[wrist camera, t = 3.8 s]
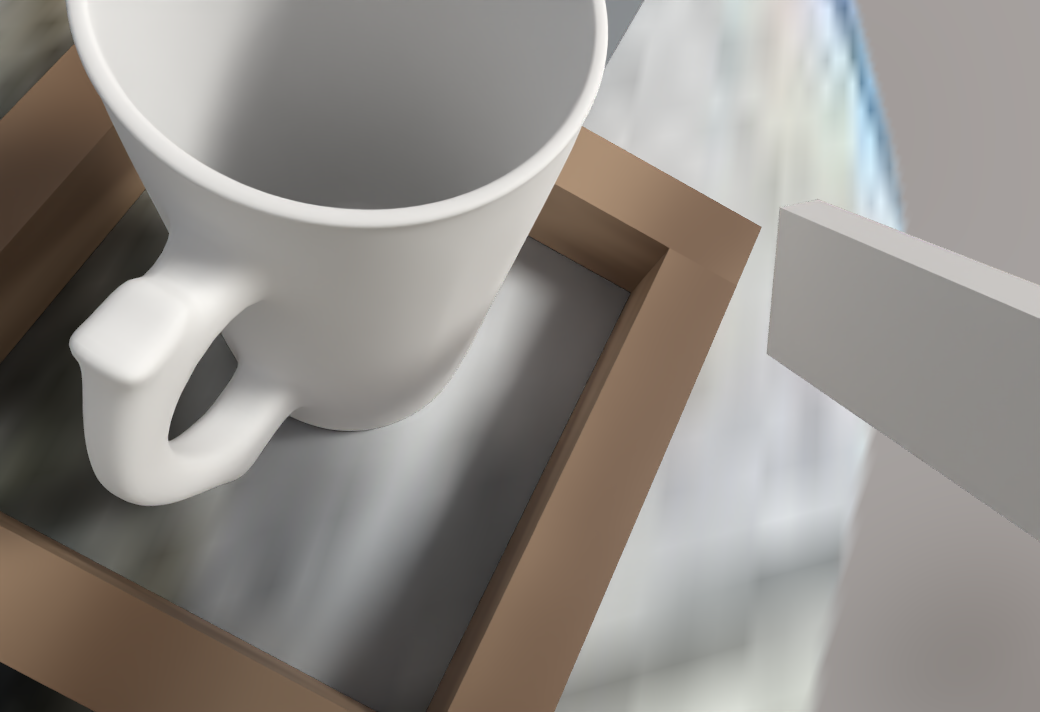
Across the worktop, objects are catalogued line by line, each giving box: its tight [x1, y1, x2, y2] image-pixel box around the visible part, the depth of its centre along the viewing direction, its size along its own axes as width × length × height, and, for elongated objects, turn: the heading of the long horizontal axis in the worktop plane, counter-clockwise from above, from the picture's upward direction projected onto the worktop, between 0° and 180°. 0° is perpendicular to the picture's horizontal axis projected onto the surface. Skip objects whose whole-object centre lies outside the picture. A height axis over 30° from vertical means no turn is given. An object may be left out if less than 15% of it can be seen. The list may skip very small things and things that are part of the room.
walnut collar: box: [0, 44, 761, 712], centre depth 19 cm, size 17×17×3 cm
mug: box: [66, 0, 608, 506], centre depth 15 cm, size 10×7×12 cm, turn 151°
